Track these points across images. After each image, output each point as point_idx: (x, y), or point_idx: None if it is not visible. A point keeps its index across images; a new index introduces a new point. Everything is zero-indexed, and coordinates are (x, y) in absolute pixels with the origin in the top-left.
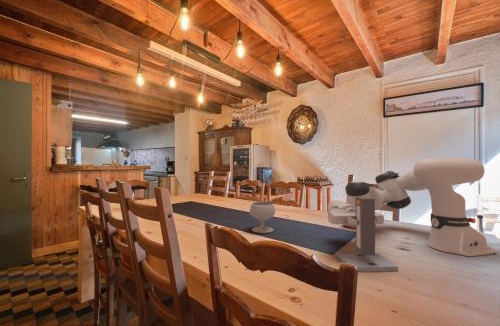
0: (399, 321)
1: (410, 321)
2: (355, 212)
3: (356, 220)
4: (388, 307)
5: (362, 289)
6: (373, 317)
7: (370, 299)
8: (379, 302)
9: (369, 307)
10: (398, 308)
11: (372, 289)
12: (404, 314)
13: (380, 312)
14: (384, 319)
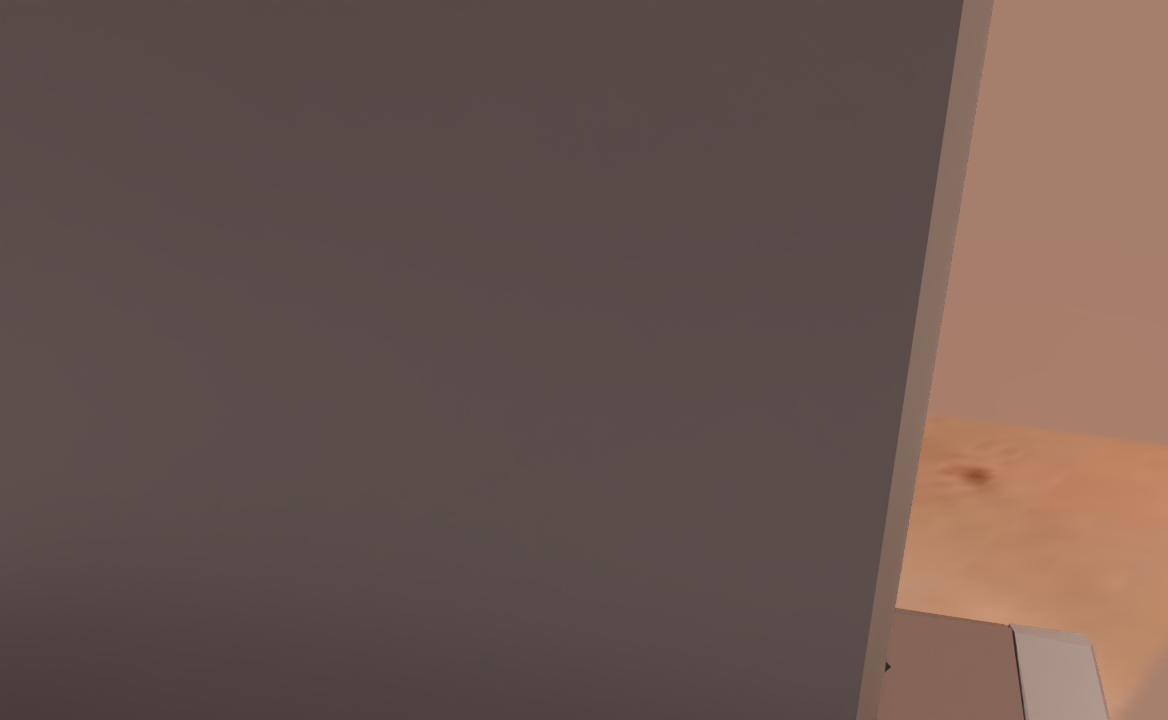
0: (1001, 424)
1: (930, 414)
2: (856, 689)
3: (1011, 631)
4: (991, 502)
5: (1107, 704)
6: (1163, 465)
7: (1094, 583)
8: (1031, 546)
9: (1150, 525)
10: (920, 484)
11: None
12: (922, 448)
13: (1086, 483)
14: (1092, 445)
